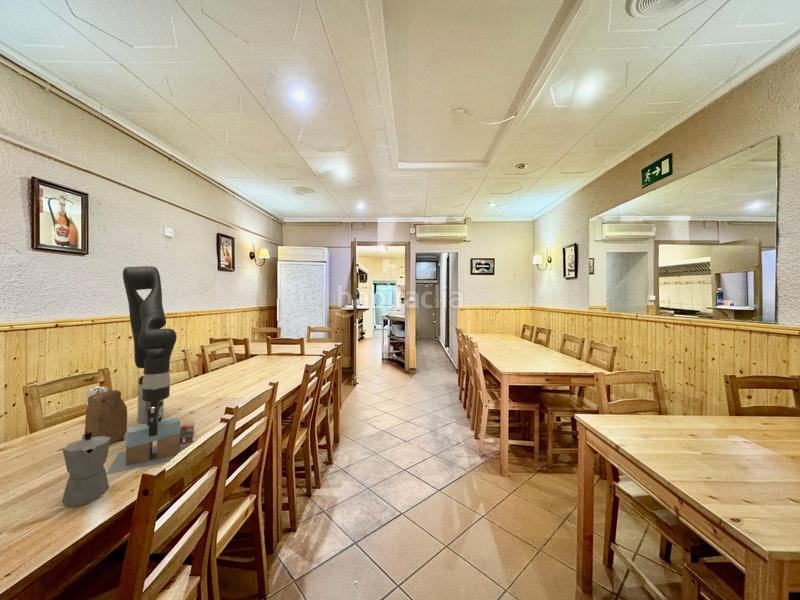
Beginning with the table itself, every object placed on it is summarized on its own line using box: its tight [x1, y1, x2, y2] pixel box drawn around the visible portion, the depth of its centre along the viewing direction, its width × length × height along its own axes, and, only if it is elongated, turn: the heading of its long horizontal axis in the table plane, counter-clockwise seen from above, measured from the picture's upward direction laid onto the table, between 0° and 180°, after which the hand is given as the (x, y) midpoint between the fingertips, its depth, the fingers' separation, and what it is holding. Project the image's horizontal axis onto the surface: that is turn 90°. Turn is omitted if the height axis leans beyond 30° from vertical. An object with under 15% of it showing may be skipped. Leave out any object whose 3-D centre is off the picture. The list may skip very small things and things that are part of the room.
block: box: [84, 389, 128, 447], centre depth 114 cm, size 11×8×20 cm
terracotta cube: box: [180, 421, 195, 436], centre depth 121 cm, size 4×4×5 cm
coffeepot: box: [61, 432, 111, 508], centre depth 84 cm, size 15×9×18 cm, turn 49°
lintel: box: [125, 416, 181, 448], centre depth 105 cm, size 5×14×5 cm, turn 138°
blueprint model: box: [180, 425, 196, 446], centre depth 114 cm, size 4×7×7 cm, turn 122°
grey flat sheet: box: [106, 439, 190, 476], centre depth 106 cm, size 16×22×1 cm
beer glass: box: [85, 386, 109, 407], centre depth 134 cm, size 7×7×15 cm
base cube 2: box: [156, 435, 180, 459], centre depth 107 cm, size 6×6×6 cm
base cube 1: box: [125, 442, 154, 465], centre depth 103 cm, size 6×6×6 cm
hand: (155, 431), depth 105 cm, fingers open, 8 cm apart
